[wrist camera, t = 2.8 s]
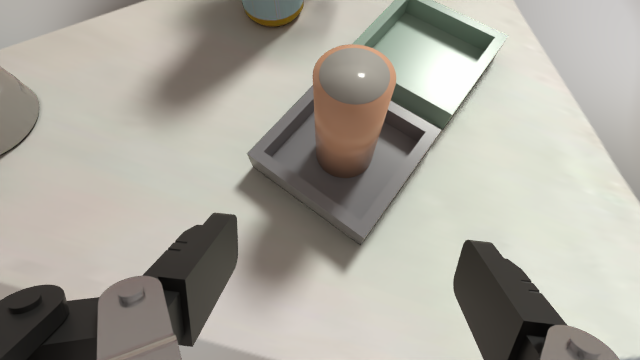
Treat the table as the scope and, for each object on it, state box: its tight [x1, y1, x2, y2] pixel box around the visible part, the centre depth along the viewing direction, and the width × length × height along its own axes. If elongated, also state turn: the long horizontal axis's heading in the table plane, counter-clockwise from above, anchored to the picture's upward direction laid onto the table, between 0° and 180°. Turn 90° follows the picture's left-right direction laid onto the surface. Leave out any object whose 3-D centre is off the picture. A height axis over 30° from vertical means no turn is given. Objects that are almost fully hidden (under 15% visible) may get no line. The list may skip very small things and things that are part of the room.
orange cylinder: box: [313, 44, 396, 178], centre depth 24 cm, size 5×5×10 cm
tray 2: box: [353, 0, 508, 130], centre depth 32 cm, size 12×12×2 cm
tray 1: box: [247, 86, 441, 245], centre depth 28 cm, size 12×12×2 cm
